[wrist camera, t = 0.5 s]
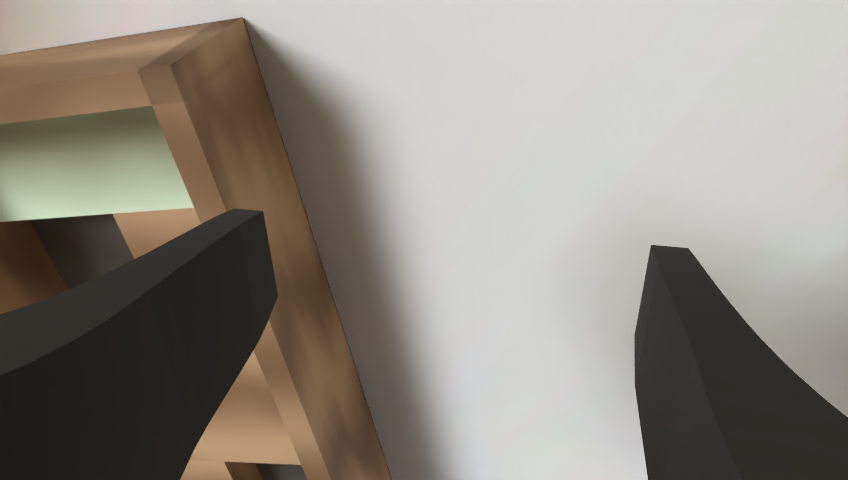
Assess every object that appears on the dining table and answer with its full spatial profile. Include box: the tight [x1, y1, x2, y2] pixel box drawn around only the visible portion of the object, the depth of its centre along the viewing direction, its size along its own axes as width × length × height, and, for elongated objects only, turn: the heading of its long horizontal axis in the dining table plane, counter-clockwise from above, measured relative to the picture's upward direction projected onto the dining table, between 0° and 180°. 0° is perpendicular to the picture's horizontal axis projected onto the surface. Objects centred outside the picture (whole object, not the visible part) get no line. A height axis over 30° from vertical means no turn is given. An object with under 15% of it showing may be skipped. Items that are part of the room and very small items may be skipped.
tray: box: [0, 18, 391, 480], centre depth 30 cm, size 33×13×4 cm, turn 11°
